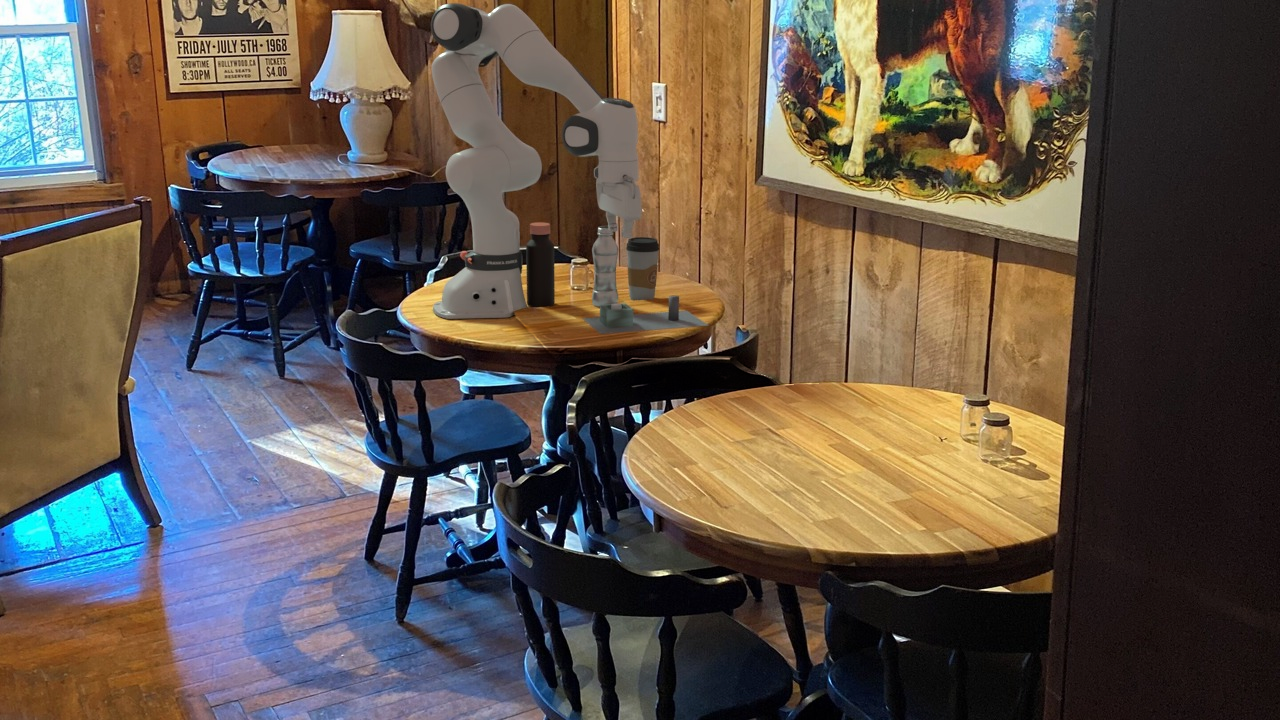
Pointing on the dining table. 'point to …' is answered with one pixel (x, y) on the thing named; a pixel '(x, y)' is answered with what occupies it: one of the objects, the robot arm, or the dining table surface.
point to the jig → (652, 320)
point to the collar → (616, 316)
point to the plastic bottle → (605, 268)
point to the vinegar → (540, 266)
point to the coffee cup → (642, 267)
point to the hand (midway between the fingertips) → (619, 234)
